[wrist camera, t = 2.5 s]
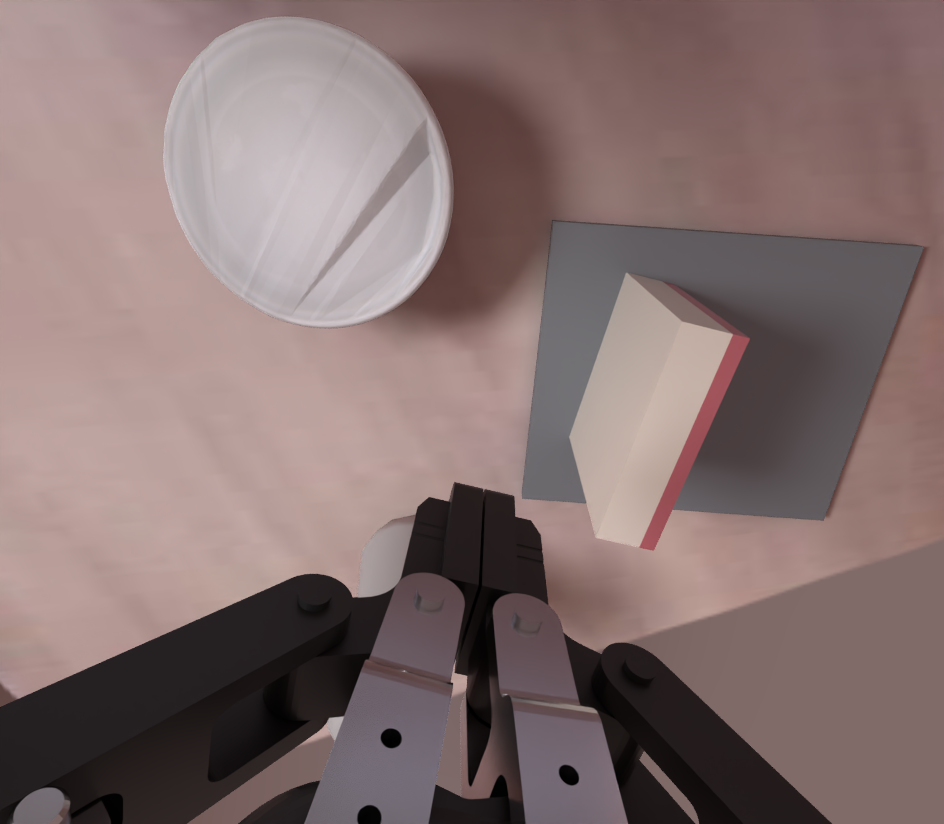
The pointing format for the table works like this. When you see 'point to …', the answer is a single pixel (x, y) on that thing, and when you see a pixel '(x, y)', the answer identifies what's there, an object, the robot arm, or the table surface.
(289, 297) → the ramekin
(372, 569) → the salt shaker
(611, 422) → the tile
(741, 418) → the slate mat
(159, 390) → the table surface
